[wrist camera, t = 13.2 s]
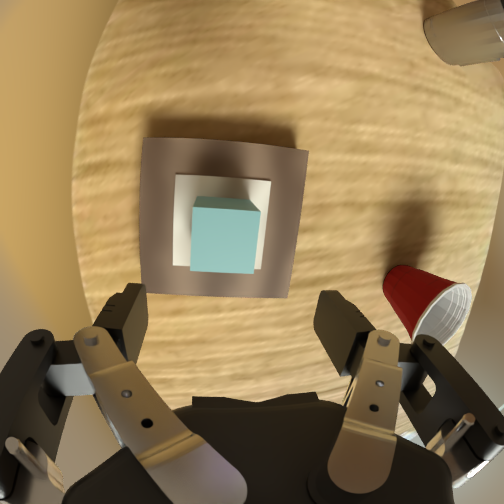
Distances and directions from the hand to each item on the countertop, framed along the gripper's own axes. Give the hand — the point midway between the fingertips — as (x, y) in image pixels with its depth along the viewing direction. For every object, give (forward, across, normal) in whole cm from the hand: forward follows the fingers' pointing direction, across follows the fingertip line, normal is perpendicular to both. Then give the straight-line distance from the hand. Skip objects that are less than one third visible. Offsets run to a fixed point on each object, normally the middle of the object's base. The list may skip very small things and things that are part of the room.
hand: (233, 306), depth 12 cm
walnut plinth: (+20, 0, 0) cm, 20 cm away
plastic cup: (+20, -27, +8) cm, 34 cm away
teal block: (+15, 0, 0) cm, 15 cm away
